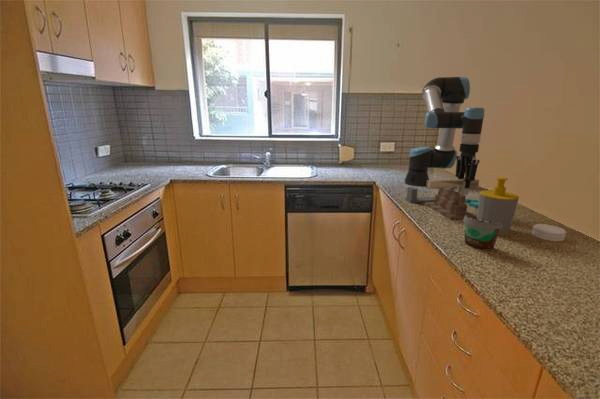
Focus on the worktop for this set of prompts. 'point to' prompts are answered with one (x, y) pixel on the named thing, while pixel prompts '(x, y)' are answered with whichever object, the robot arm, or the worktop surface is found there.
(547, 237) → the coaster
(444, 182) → the birch bar
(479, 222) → the food container
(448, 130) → the robot arm
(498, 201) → the soap bottle
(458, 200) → the fulcrum
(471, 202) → the alien figure
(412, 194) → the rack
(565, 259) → the worktop surface
